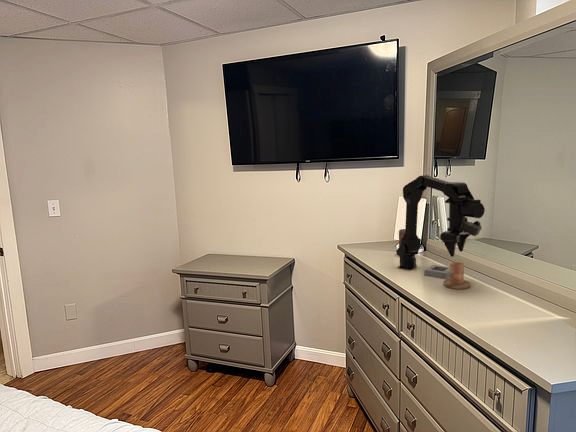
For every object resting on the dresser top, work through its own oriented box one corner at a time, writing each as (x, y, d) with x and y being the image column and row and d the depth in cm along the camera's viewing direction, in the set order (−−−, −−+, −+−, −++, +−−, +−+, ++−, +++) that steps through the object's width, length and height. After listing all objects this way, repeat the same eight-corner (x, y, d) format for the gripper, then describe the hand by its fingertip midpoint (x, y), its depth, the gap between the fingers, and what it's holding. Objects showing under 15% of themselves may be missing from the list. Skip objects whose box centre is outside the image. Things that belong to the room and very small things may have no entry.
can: (412, 257, 198) (412, 230, 196) (399, 257, 199) (399, 231, 197) (411, 254, 204) (411, 228, 202) (398, 254, 205) (398, 228, 203)
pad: (439, 286, 155) (439, 284, 154) (448, 279, 162) (448, 277, 162) (465, 291, 148) (465, 288, 148) (474, 284, 155) (474, 281, 155)
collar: (424, 275, 169) (424, 269, 169) (433, 269, 176) (433, 264, 176) (446, 279, 163) (446, 273, 162) (454, 273, 170) (454, 267, 169)
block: (449, 283, 155) (449, 264, 153) (453, 280, 157) (453, 261, 156) (460, 285, 152) (460, 265, 151) (463, 282, 155) (463, 263, 153)
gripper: (470, 220, 138) (469, 262, 141) (486, 212, 152) (486, 251, 154) (439, 218, 146) (439, 258, 148) (457, 211, 159) (457, 248, 162)
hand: (456, 253), depth 153 cm, fingers open, 9 cm apart
